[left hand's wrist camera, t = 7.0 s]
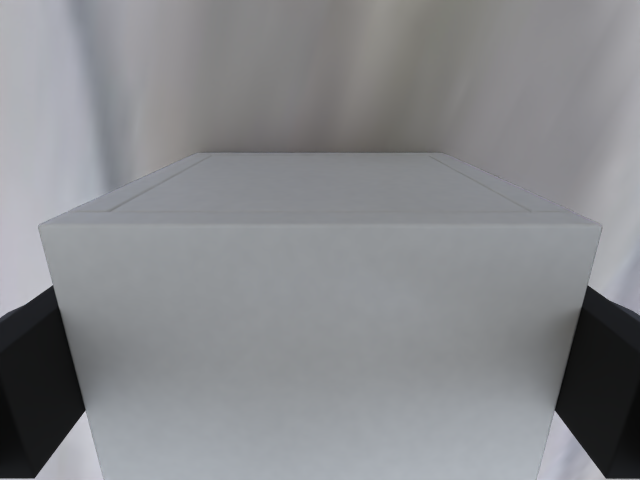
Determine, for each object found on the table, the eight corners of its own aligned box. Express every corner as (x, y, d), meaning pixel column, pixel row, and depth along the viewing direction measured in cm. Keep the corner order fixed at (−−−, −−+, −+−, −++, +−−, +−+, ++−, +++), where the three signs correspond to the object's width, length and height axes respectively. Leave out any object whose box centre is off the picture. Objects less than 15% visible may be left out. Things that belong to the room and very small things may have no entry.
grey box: (411, 457, 23) (476, 713, 14) (228, 457, 23) (163, 713, 14) (444, 152, 17) (605, 224, 7) (195, 152, 17) (35, 224, 7)
